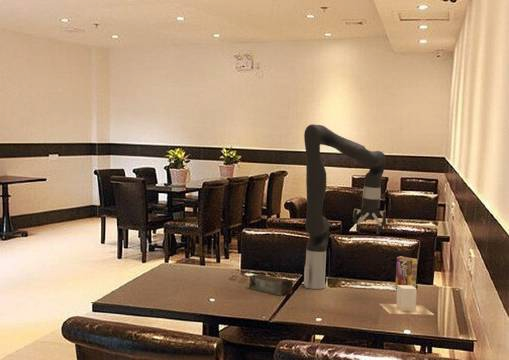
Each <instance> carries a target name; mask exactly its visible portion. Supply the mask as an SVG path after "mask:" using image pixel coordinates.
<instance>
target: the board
mask: <svg viewBox="0 0 509 360" xmlns="http://www.w3.org/2000/svg"><path fill="white" fill-rule="evenodd" d="M379 305H380V307H382V308H383V309H384V311H386V312H387V314H390V315H394V314H395V315H420V316H421V315H426V316H435V314H434V313H433V312H431V311H430V310H429V309H427V307H425V306H424V305H422V304H416V311H400V310H399V309H398V308H397V307H396V303H379Z"/></svg>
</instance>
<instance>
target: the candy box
mask: <svg viewBox="0 0 509 360" xmlns="http://www.w3.org/2000/svg"><path fill="white" fill-rule="evenodd" d="M395 266H396V269H395V271H396V272H395V287H396V288H397V285H411V286H413V287H415V288H416V289H417V287H416V285H417V274H418V273H417V272H418V271H417V270H418V259H417V258H412V257H407V256H402V255H400V256H397V257H396V265H395ZM395 287H394V288H395Z"/></svg>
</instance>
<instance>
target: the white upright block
mask: <svg viewBox="0 0 509 360" xmlns="http://www.w3.org/2000/svg"><path fill="white" fill-rule="evenodd" d="M395 304H396V307H397V308H398V309H399V310H400V311H416V305H417V287H416V288H415V287H413V286H411V285H397V289H396V303H395Z"/></svg>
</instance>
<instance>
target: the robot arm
mask: <svg viewBox="0 0 509 360" xmlns="http://www.w3.org/2000/svg"><path fill="white" fill-rule="evenodd" d="M303 136H304V137H303V139H304V148H305V162H306V163H305V166H306V169H305V171H306V174H305V176H306V177H305V178H306V179H305V181H306V184H305V185H306V186H305V187H306V215H305V225H304V226H305V230H306V232H307V234H308V235H309V238H308V242H307V243H306V248H305V249H306V250H305V251H306V252H305V264H304V274H303V286H304V288H305V289H311V290H323V289H324V288H325V285H326V284H325V283H326V263H327V247H328V244H329V236H330V235H329V234H330V222H329V221H328V219H327V217H325V216H323V205H324V201H325V195H326V192H327V191H326V190H327V171H326V168H325V165H324V163H323V160H322V158H321V157H322V156H321V145H322V146H327V147H330V148H333V149H335V150H337V151H338V152H339V153H341V155H342V154H343V155H344V156H346V157H348V158H350V159H353V160H355V161H357V162H358V163H360V164H361V165H362V166H365V167H366V168H369V171H368V172H367V173H366V174H365V176H364V183H363V184H364V185H363V191H362V197H361V198H362V200H361V208H360V209H358V208H354V209H353V213H352V222H353V224H354V223H355V224H356V226H355V230H356V232H357V233H358V234H360V230H361V223H362V222H364V220H367V221H374V220H375V221H376V223H377V226H376V227H377V229H376V234H377V235H380V234H381V233H382V227H383V226H385V225H386V224H387V211H386V210H380V204H381V197H382V196H381V195H382V194H381V193H382V192H381V191H382V190H381V185H382V177H383V174H384V172H385V167H386V164H387V163H386V162H387V159H386V155H385V153H384V152H383V151H380V150H376V151H372V150H369V149H367V148H366V146H364V145H362V144H360V143H357V142H356V141H353V140H351V139H348V138H345V137H343V136H341V135H338V134H337V133H335V132H334V131H332V129H331V130H330V129H329V128H328V127H326V126H324V125H321V124H315V123H313V124H309V125H307V126H306V127H305V130H304V134H303ZM359 213H360V214H361V215H360V217H359V218H358V219H357V216H358V215H359ZM379 215H381V217H382V221H380V219H379V218H378V216H379Z"/></svg>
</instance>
